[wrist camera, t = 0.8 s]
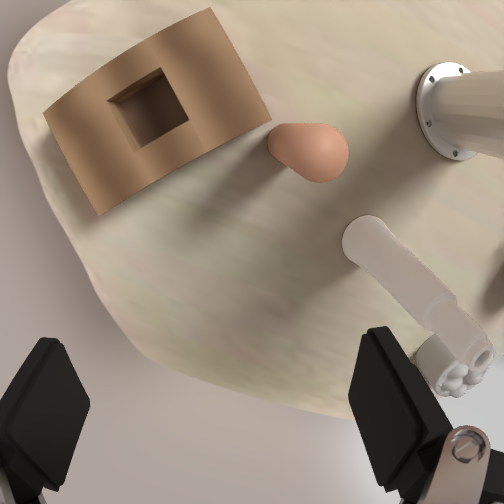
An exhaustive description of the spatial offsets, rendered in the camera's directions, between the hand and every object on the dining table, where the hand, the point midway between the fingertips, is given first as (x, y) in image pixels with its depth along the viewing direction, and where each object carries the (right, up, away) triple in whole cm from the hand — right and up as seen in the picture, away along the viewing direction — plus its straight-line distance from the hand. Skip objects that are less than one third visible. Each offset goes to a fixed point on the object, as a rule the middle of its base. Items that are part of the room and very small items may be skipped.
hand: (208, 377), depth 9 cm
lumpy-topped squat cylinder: (+35, -13, +37) cm, 52 cm away
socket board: (-8, +18, +20) cm, 28 cm away
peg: (+5, +15, +22) cm, 27 cm away
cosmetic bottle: (+15, +5, +27) cm, 31 cm away
